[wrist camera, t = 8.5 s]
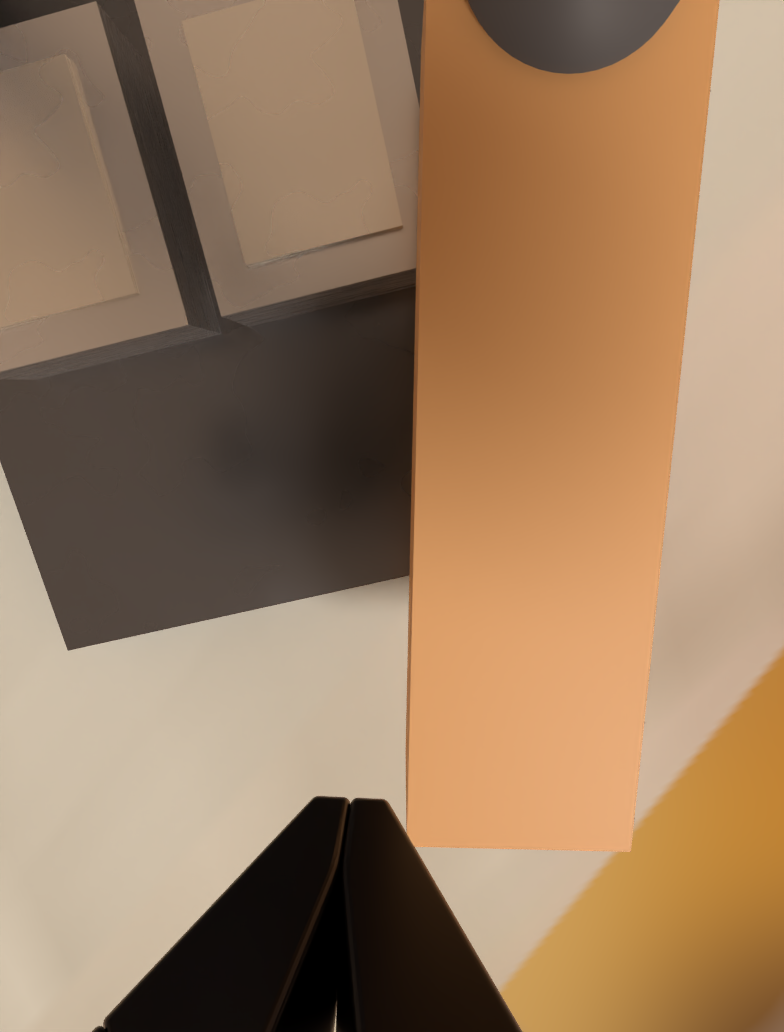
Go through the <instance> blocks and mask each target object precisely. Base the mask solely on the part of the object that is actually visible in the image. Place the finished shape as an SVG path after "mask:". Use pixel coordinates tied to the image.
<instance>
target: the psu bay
mask: <svg viewBox="0 0 784 1032" xmlns="http://www.w3.org/2000/svg"><path fill="white" fill-rule="evenodd" d="M423 10H424V0H0V462H1V464H2V467H3V470H4V473H5V476H6V478H7V481H8V484H9V487H10V490H11V492H12V495H13V498H14V501H15V504H16V506H17V509H18V512H19V515H20V518H21V520H22V523H23V526H24V529H25V532H26V534H27V537H28V540H29V543H30V546H31V548H32V551H33V554H34V557H35V560H36V563H37V565H38V568H39V571H40V574H41V577H42V579H43V582H44V585H45V588H46V591H47V593H48V596H49V599H50V602H51V605H52V607H53V610H54V613H55V616H56V619H57V621H58V624H59V627H60V630H61V633H62V635H63V638H64V641H65V644H66V647H67V649H68V650H73V649H77V648H82V647H86V646H91V645H95V644H100V643H104V642H109V641H113V640H118V639H122V638H127V637H132V636H136V635H141V634H145V633H150V632H154V631H159V630H163V629H168V628H172V627H177V626H181V625H186V624H191V623H195V622H200V621H204V620H209V619H213V618H218V617H222V616H227V615H231V614H236V613H240V612H245V611H249V610H254V609H259V608H263V607H268V606H272V605H277V604H281V603H286V602H290V601H295V600H299V599H304V598H308V597H313V596H318V595H322V594H327V593H331V592H336V591H340V590H345V589H349V588H354V587H358V586H363V585H367V584H372V583H376V582H381V581H386V580H390V579H395V578H399V577H404V576H408V575H410V531H411V485H412V439H413V394H414V348H415V303H416V257H417V211H418V166H419V120H420V74H421V44H422V27H423Z"/></svg>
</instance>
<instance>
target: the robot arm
mask: <svg viewBox="0 0 784 1032" xmlns="http://www.w3.org/2000/svg"><path fill="white" fill-rule="evenodd" d="M336 1008H337V1015H336ZM335 1017H336V1032H522V1031H521V1029H520V1027H519V1025H518V1024H517V1022H516V1020H515V1018H514V1017H513V1015H512V1013H511V1012H510V1010H509V1008H508V1006H507V1005H506V1003H505V1001H504V1000H503V998H502V996H501V994H500V993H499V991H498V989H497V988H496V986H495V984H494V982H493V981H492V979H491V977H490V976H489V974H488V972H487V970H486V969H485V967H484V965H483V964H482V962H481V960H480V958H479V957H478V955H477V953H476V952H475V950H474V948H473V946H472V945H471V943H470V941H469V940H468V938H467V936H466V934H465V933H464V931H463V929H462V928H461V926H460V924H459V922H458V921H457V919H456V917H455V916H454V914H453V912H452V910H451V909H450V907H449V905H448V904H447V902H446V900H445V898H444V897H443V895H442V893H441V892H440V890H439V888H438V886H437V885H436V883H435V881H434V880H433V878H432V876H431V874H430V873H429V871H428V869H427V868H426V866H425V864H424V862H423V861H422V859H421V857H420V856H419V854H418V852H417V850H416V849H415V847H414V845H413V844H412V842H411V840H410V838H409V837H408V835H407V833H406V832H405V830H404V828H403V826H402V825H401V823H400V821H399V820H398V818H397V816H396V814H395V813H394V811H393V809H392V808H391V806H390V804H389V803H388V802H387V801H386V800H385V799H370V798H355V799H354V800H352V802H351V805H350V801H349V800H348V799H347V798H345V797H327V796H316V797H314V798H313V799H312V800H311V801H310V802H309V803H308V804H307V805H306V806H305V807H304V808H303V809H302V810H301V811H300V812H299V813H298V814H297V816H296V817H295V818H294V819H293V820H292V821H291V822H290V823H289V824H288V825H287V826H286V827H285V828H284V829H283V830H282V831H281V832H280V834H279V835H278V836H277V837H276V838H275V839H274V840H273V841H272V842H271V843H270V844H269V845H268V846H267V847H266V848H265V849H264V850H263V852H262V853H261V854H260V855H259V856H258V857H257V858H256V859H255V860H254V861H253V862H252V863H251V864H250V865H249V866H248V867H247V868H246V870H245V871H244V872H243V873H242V874H241V875H240V876H239V877H238V878H237V879H236V880H235V881H234V882H233V883H232V884H231V885H230V886H229V888H228V889H227V890H226V891H225V892H224V893H223V894H222V895H221V896H220V897H219V898H218V899H217V900H216V901H215V902H214V903H213V904H212V906H211V907H210V908H209V909H208V910H207V911H206V912H205V913H204V914H203V915H202V916H201V917H200V918H199V919H198V920H197V921H196V922H195V924H194V925H193V926H192V927H191V928H190V929H189V930H188V931H187V932H186V933H185V934H184V935H183V936H182V937H181V938H180V939H179V940H178V942H177V943H176V944H175V945H174V946H173V947H172V948H171V949H170V950H169V951H168V952H167V953H166V954H165V955H164V956H163V957H162V958H161V960H160V961H159V962H158V963H157V964H156V965H155V966H154V967H153V968H152V969H151V970H150V971H149V972H148V973H147V974H146V975H145V976H144V978H143V979H142V980H141V981H140V982H139V983H138V984H137V985H136V986H135V987H134V988H133V989H132V990H131V991H130V992H129V993H128V994H127V996H126V997H125V998H124V999H123V1000H122V1001H121V1002H120V1003H119V1004H118V1005H117V1006H116V1007H115V1008H114V1009H113V1010H112V1011H111V1012H110V1014H109V1015H108V1016H107V1017H106V1018H105V1020H104V1022H103V1027H102V1026H98V1027H96V1028H95V1029H94V1030H93V1031H92V1032H334V1025H335Z"/></svg>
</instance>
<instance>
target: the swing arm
mask: <svg viewBox="0 0 784 1032" xmlns="http://www.w3.org/2000/svg"><path fill="white" fill-rule="evenodd" d="M718 9H719V0H424V10H423V27H422V44H421V74H420V120H419V166H418V211H417V257H416V303H415V348H414V394H413V439H412V485H411V531H410V576H409V622H408V667H407V713H406V823H407V835H408V837H409V838H410V840H411V842H412V844H413V845H414V847H451V848H493V849H536V850H579V851H621V852H622V851H623V852H624V851H625V852H631V844H632V835H633V825H634V815H635V806H636V796H637V787H638V777H639V767H640V758H641V748H642V739H643V729H644V719H645V710H646V700H647V691H648V681H649V671H650V662H651V652H652V643H653V633H654V623H655V614H656V604H657V595H658V585H659V575H660V566H661V556H662V547H663V537H664V527H665V518H666V508H667V499H668V489H669V479H670V470H671V460H672V451H673V441H674V431H675V422H676V412H677V403H678V393H679V383H680V374H681V364H682V355H683V345H684V335H685V326H686V316H687V307H688V297H689V287H690V278H691V268H692V259H693V249H694V239H695V230H696V220H697V211H698V201H699V191H700V182H701V172H702V163H703V153H704V143H705V134H706V124H707V115H708V105H709V95H710V86H711V76H712V67H713V57H714V47H715V38H716V28H717V19H718Z"/></svg>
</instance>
